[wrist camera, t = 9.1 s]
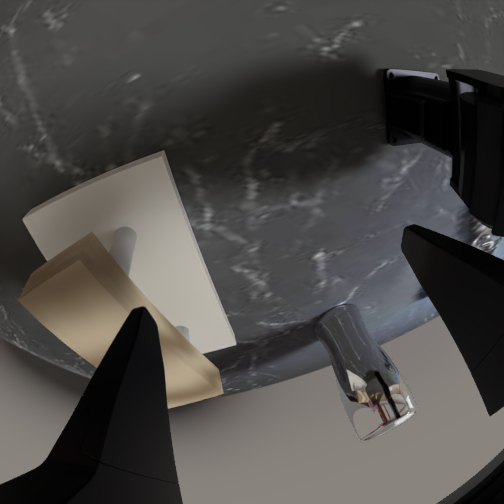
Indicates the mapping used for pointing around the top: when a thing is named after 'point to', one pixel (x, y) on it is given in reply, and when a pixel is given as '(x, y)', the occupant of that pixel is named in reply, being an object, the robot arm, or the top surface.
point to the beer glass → (364, 374)
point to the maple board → (110, 316)
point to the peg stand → (141, 243)
